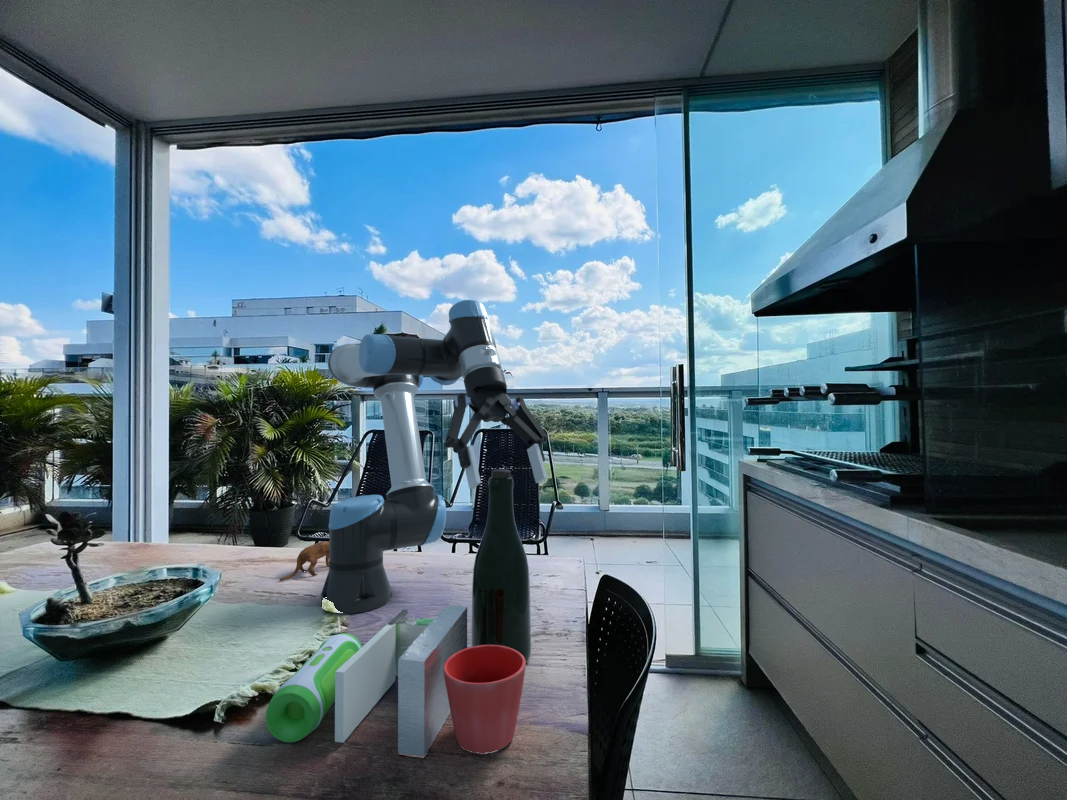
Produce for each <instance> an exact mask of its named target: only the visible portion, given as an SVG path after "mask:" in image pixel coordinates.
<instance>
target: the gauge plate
mask: <svg viewBox="0 0 1067 800" xmlns="http://www.w3.org/2000/svg"><path fill="white" fill-rule="evenodd" d="M408 613H409V611H408V609H402V610H401V611H400V612H399V613H398V614H397V615H396V616H394V617H393V618H392V619H391V620H390V621H389V622H388V623H387V624H385V626H384V627H383V628H381V629H380V630H379V631H377V633H376V634H375V635H374V636H372V637H371V639H369V640H368V641H367V642H366V643H365V644H364V645H362V648H361V649H360V650H358V651H357V652H356V653H355V654H354V655H353V656H352V657H351V658H350V659H349V660H347V661H346V662H345V663H344V664H343V665H342V666H341V667H340V668H339V669H338V670H337V671H335V702H334V742H335V743H341V744H343V743H345V742H346V740H347V739H348V738H349V737H350V735H351V734H352V733H353V732H354V731H355V730H356V728H357V727H358V726H359V724H361V722H362V721H363V720H364V719H365V718H366V716H367V715H368V714H369V712H371V711H372V709H373V708H374V707H375V706H376V705H377V703H378V702H379V700H381V698H382V697H383V696H384V695H385V693H386V692H387V691H388V690H389V689H390V687H392V685H393V684H394V683H395V681H396V676H395V641H396V624H397V623H398V622H399V621H400V620H401V619H402V618H403V617H406V616H407V615H408Z"/></svg>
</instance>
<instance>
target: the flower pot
mask: <svg viewBox="0 0 1067 800" xmlns="http://www.w3.org/2000/svg"><path fill="white" fill-rule="evenodd" d="M526 665H527V663H526V661H525V658H524V656H523V655H522V654H521V653H520V652H518V651H516V650H514V649H512V648H509V647H505V646H500V645H480V646H474V647H471V646H470V647H467V648H466V649H463V650H461V651H459V652H457V653H455V654H453V655H452V656H451V657H450V658H449V659H448V660H447V661H446V662H445V664H444V668H443V671H444V678H445V684H446V689H447V694H448V700H449V706H450V711H451V712H450V717H451V719H452V720H451V721H452V725H453V730H454V735H455V740H456V742H458V743H457V744H458V746H459V745H460V746H461V747H463V748H464V749H466V750H469V751H472V752H479V753H485V752H492V751H495V750H499V749H501V748H503V747H505V746H506V745H508V744H509V743H510V742H511V743H512V741H513V740H514V737H515V733H516V727H517V722H518V718H519V712H520V706H521V701H522V700H521V699H522V693H523V687H524V681H525V680H524V679H525V673H526ZM512 739H513V740H512ZM511 743H510V744H511ZM510 744H509V745H510ZM509 745H508V746H509ZM460 746H459V747H460ZM461 747H460V748H461ZM505 748H506V747H505ZM464 749H463V750H464Z"/></svg>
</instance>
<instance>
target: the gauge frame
mask: <svg viewBox="0 0 1067 800" xmlns="http://www.w3.org/2000/svg"><path fill="white" fill-rule="evenodd" d="M466 648H468V606H461V605H460V606H459V605H445V607H443V609H442V610H441V611H440V612H439V613H438V614H437V615H436V616H435V617H434V618H425V617H424V618H421V617H419V618H418V617H417V618H416V617H406V616H404V617H403V618H402V619H401V620H400V621H399V622H398V623H397V624H396V641H395V677H398V678H397V691H398V692H397V702H398V703H397V754H398V753H401V754H402V753H403V754H409V755H410V754H411V755H418V756H425V754H426V753H427V751H428V749H429V748H430V746H431V744H432V742H433V741H434V739H435V737H436V735H437V734H438V732H439V731H440V732H441V730H442V728H443V727H444V725H443V724H445V723H446V721H447V720H446V719H448V717H449V716H450V715H451V711H450V706H449V700H448V694H447V689H446V684H445V678H444V671H443V668H444V664H445V662H446V661H447V660H448V659H449V658H450V657H451V656H452V655H453V654H455V653H457V652H459V651H461V650H463V649H466ZM442 726H443V727H442ZM440 729H441V730H440ZM440 732H439V733H440ZM438 735H439V734H438ZM436 738H437V737H436ZM435 740H436V739H435ZM434 742H435V741H434ZM432 745H433V744H432ZM431 747H432V746H431ZM430 749H431V748H430ZM428 752H429V751H428ZM427 754H428V753H427Z"/></svg>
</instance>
